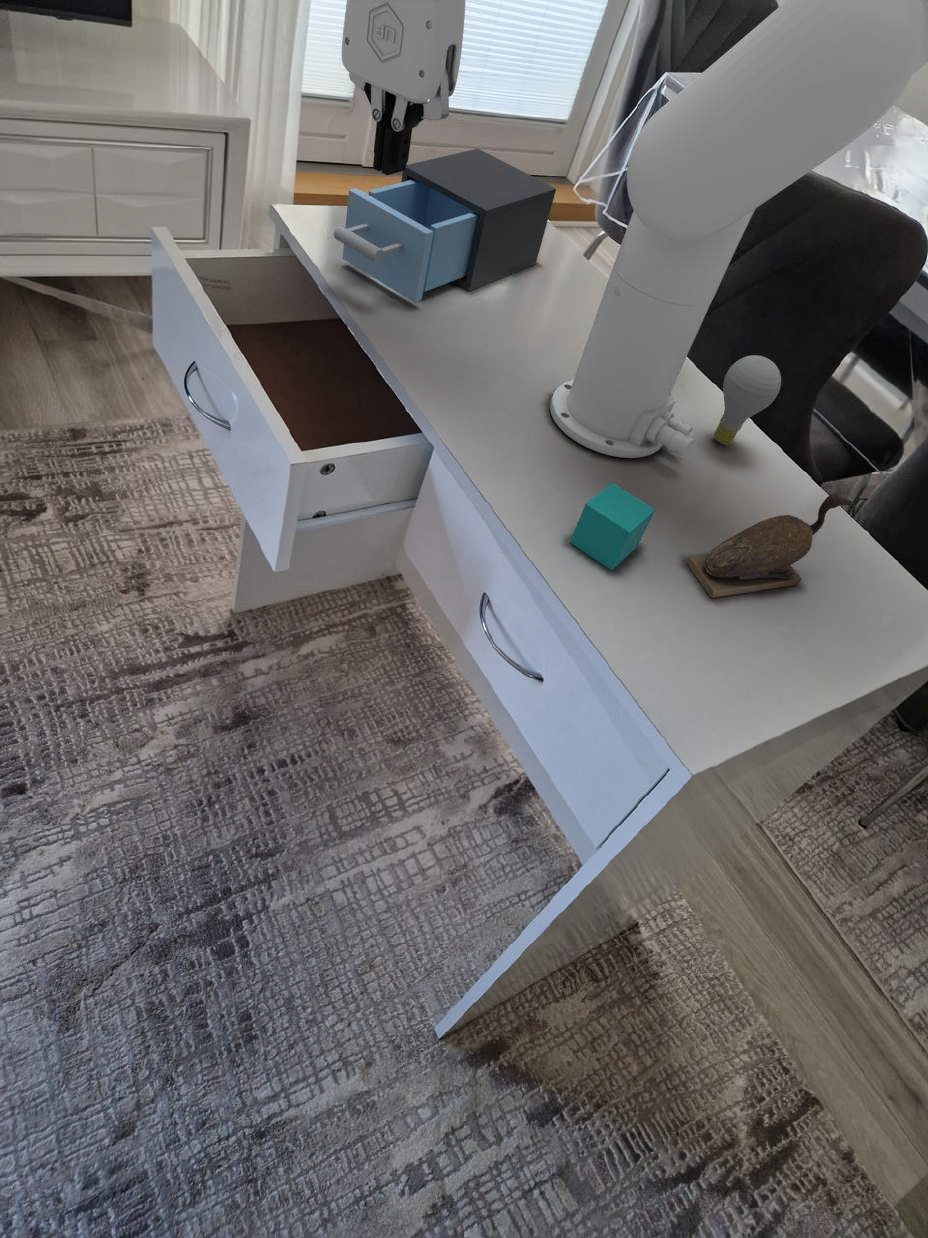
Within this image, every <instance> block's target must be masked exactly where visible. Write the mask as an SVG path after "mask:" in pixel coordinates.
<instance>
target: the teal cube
mask: <svg viewBox="0 0 928 1238" xmlns="http://www.w3.org/2000/svg"><path fill="white" fill-rule="evenodd" d="M655 511H656V509H655V508H654V507H652V506H650V505H649V504H647V503H645V502H644V501H642V500H641V499H639V498H638V497H636V496H634V495H633V494H631V493H630V492H628V491H626V490H625V489H624V488H622V487H620V486H619V485H617V484H616V483H614V482H611V483H610V484H608V485H607V486H606V487H604V489H602V490H601V491H599V493H598V494H596V495H595V496H593V497H592V498H591V499H590V500H588V501H587V502H586V503H585V504H584V506H583V509H582V512H581V513H580V516H579V519H578V521H577V523H576V526H575V528H574V531H573V533H572V536H571V538H570V540H569V543H570V544H571V545H572V546H574V547H575V548H577V549H579V550H580V551H582V552H583V553H584V554H586V555H587V556H589V557H590V558H592V559H594V560H595V561H596V562H597V563H599V564H600V565H602V566H604V567H605V568H607V569H608V570H610V571H614V570H615V569H616V568H617V566H619V565H620V564H621V563H622V562H623V561H625V559H626V558H628V557H629V555H631V553H633V552H634V551H635V550H636V549H637V548H638V546H639V544H640V542H641V540H642V538H643V537H644V534H645V532H646V530H647V528H648V526H649V524H650V521H651V520H652V518H653V516H654V514H655Z"/></svg>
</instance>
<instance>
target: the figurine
mask: <svg viewBox="0 0 928 1238" xmlns="http://www.w3.org/2000/svg"><path fill="white" fill-rule="evenodd" d="M841 506H849V507H850V508H851V516H850V518H851V519H853V518H854V516H855V513H856V504H855V502H853V501H852V500H851V499H849V498H846V497H841V496H840V495H838V494H837V493H833V494H830V495H828V496H827V497H826V498H825V499H824V500H823V502H821V505H820V506H819V509H818V511H817V519H816V520H815V522H814V523H812V524H809V523H807V522H806V521H804V520H802V519H801V518H799V517H796V516H793V515H791V514H784V515H783V514H782V515H776V516H773V517H770V518H767V519H764V520H761V521H759V522H757V523H755V524H753V525H751V526H748V527H746V528H745V529H743V530H742V531H739V532H738V533H736V534H734V535H733V536H731V537H729V538H727V539H725V540H724V541H722V542H721V543H719V544H718V545H717V546H715V547H714V548H713V549H712V550H711V551H710V552H709V553H703V554H697V555H690V556H688V559H687V560H686V564H687V565H688V567H689V568H690V570H691V572H693V575H695V577H696V578H697V581H698V582H699V583H700V584H701V586H702V588H704V590H705V592H706V593H707V595H708V596H709V597H710V598H719V597H726V596H732V595H739V594H740V595H741V594H744V593H745V594H746V593H752V592H759V591H764V590H765V591H766V590H772V589H778V588H785V587H792V586H798V585H799V584H800V582H801V581H802V577H801V576H800V575H799V573H798V572H797V571H796V570H795V569H794V568H793V566H792V565H793V564H795V563H797V562H798V561H800V560H802V559H803V558H804V557H805V556H806V555H807V554H808V553H809V551H810V550H811V548H812V545H813V544H812V543H813V537H814V535H816V534H817V533H818V531H819V530H821V528H822V527H823V525H824V523H825V519H826V515H827V513H828V512H829V510H832V509H836V508H837V507H841Z"/></svg>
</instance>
